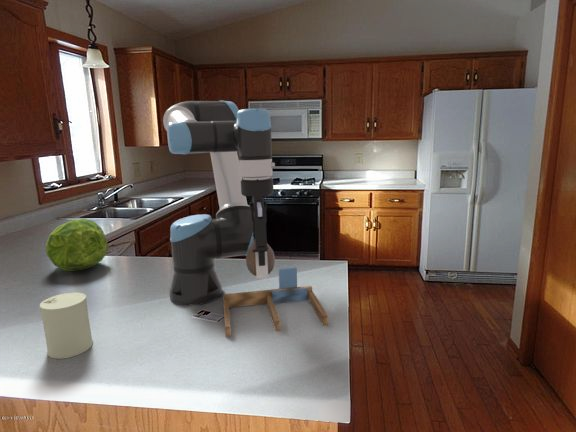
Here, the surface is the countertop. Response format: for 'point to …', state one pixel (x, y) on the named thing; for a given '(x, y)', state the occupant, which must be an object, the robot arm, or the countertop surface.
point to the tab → (287, 277)
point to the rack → (272, 302)
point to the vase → (252, 260)
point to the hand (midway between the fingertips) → (261, 272)
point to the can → (66, 325)
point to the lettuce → (77, 245)
